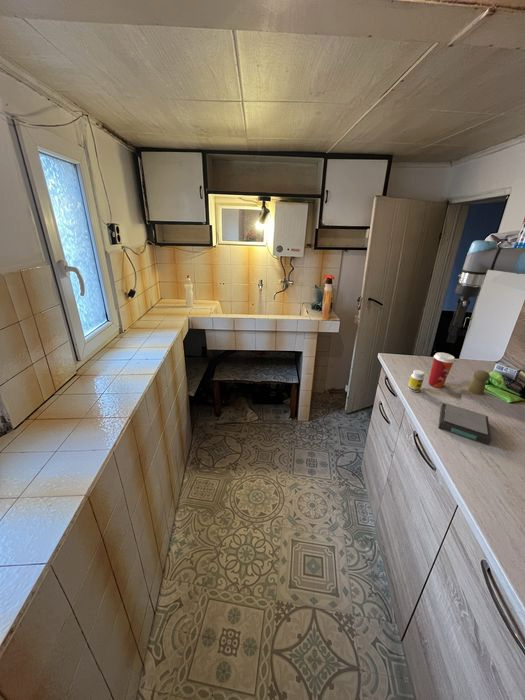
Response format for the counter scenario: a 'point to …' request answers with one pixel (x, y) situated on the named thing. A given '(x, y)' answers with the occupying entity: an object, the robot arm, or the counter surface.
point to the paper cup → (440, 369)
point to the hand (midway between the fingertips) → (451, 337)
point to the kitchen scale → (465, 423)
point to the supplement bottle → (416, 381)
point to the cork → (479, 382)
